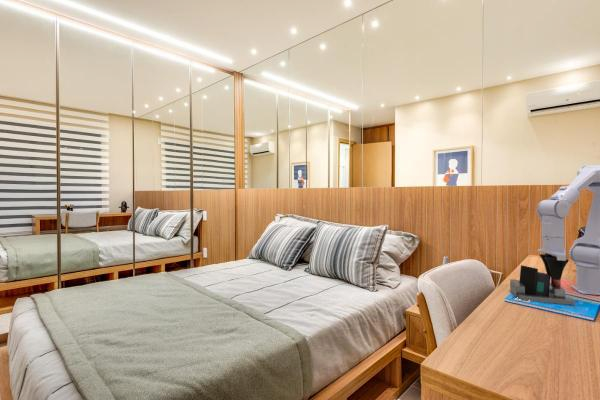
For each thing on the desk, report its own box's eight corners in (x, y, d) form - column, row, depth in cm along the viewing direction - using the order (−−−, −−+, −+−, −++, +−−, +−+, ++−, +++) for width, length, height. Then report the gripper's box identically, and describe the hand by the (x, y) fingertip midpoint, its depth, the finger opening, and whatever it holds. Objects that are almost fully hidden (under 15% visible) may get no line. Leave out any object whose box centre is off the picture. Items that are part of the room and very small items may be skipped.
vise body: (559, 293, 103) (559, 281, 103) (574, 305, 92) (574, 292, 92) (508, 288, 109) (508, 277, 109) (517, 299, 98) (517, 287, 98)
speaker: (529, 300, 97) (531, 268, 98) (517, 295, 103) (519, 265, 103) (554, 302, 97) (555, 270, 97) (540, 297, 103) (542, 266, 103)
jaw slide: (556, 294, 102) (555, 265, 101) (565, 302, 94) (565, 271, 94) (546, 293, 103) (546, 265, 102) (555, 301, 95) (554, 270, 95)
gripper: (531, 233, 107) (532, 271, 107) (545, 239, 93) (546, 283, 94) (556, 233, 104) (557, 272, 104) (574, 240, 90) (575, 285, 91)
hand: (553, 277), depth 99 cm, fingers closed on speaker, 3 cm apart
